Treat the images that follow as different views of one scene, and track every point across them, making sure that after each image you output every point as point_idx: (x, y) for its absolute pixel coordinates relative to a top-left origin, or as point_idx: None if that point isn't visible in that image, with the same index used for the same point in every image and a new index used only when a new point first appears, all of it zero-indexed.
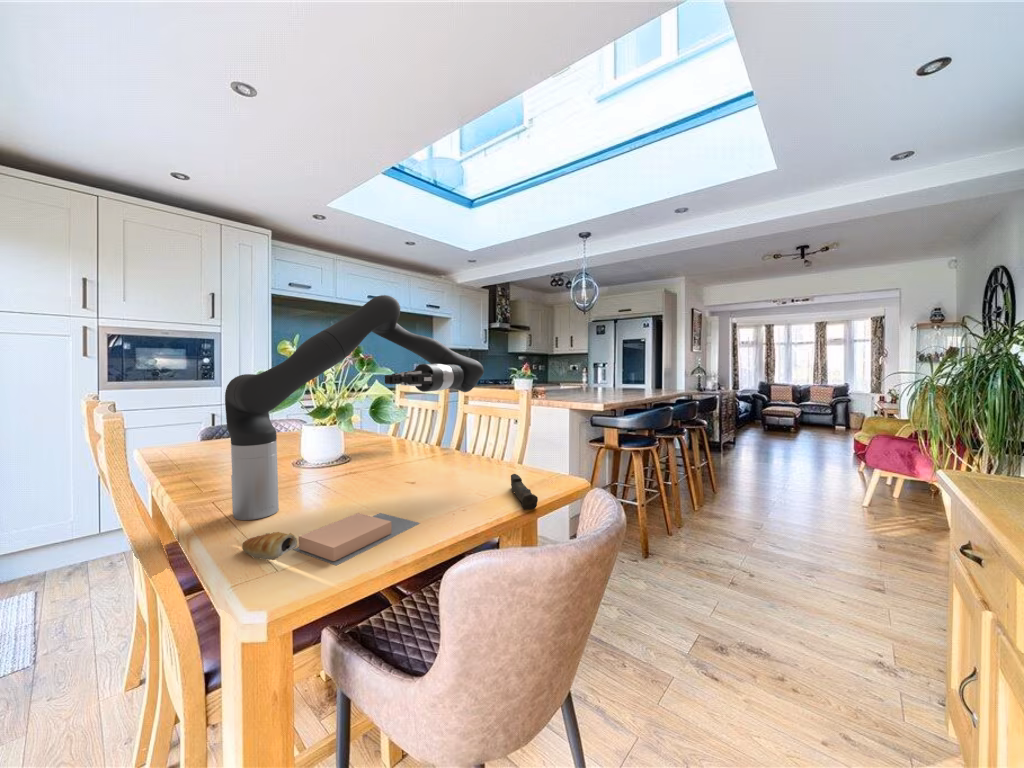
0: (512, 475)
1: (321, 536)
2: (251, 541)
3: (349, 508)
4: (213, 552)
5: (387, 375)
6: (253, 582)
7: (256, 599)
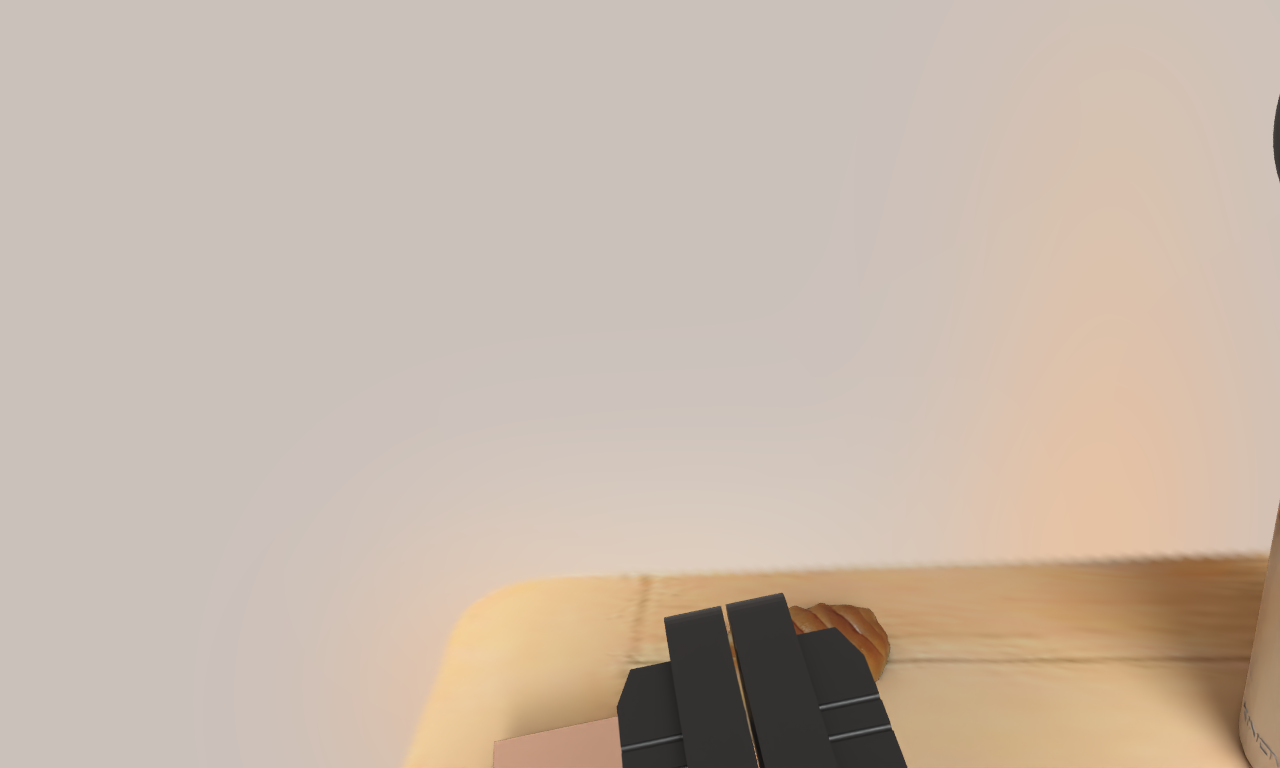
0: None
1: (620, 750)
2: (814, 608)
3: None
4: (931, 575)
5: (726, 605)
6: (621, 609)
7: (531, 598)
